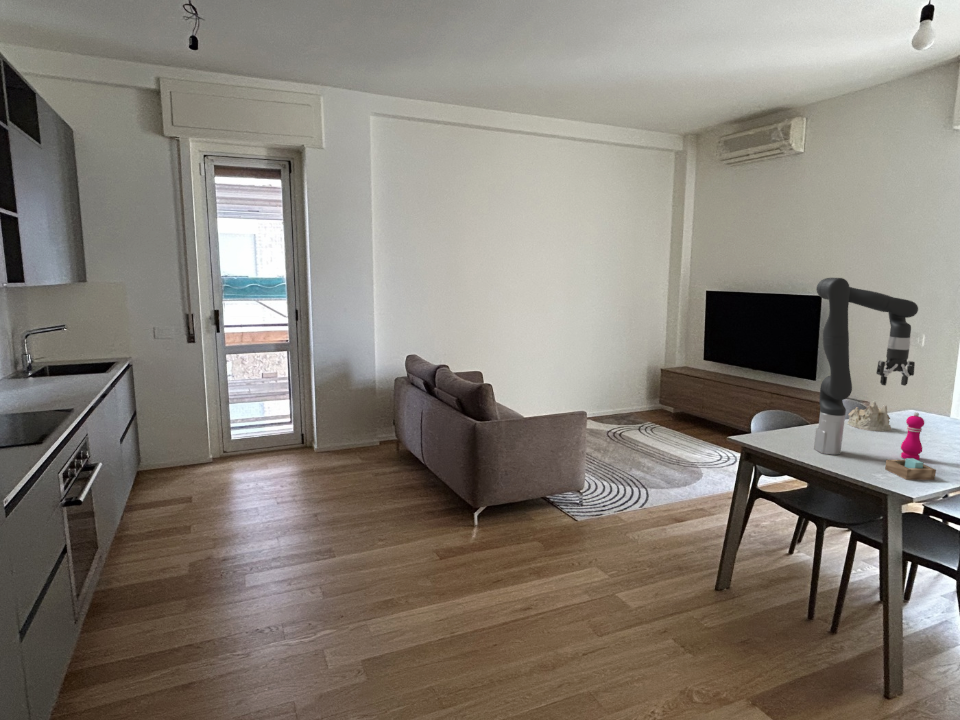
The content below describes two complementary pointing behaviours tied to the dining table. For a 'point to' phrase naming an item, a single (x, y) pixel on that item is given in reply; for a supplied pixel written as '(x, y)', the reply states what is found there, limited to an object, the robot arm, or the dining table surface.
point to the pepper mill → (912, 437)
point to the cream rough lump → (870, 418)
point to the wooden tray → (910, 471)
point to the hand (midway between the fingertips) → (893, 385)
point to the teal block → (913, 463)
